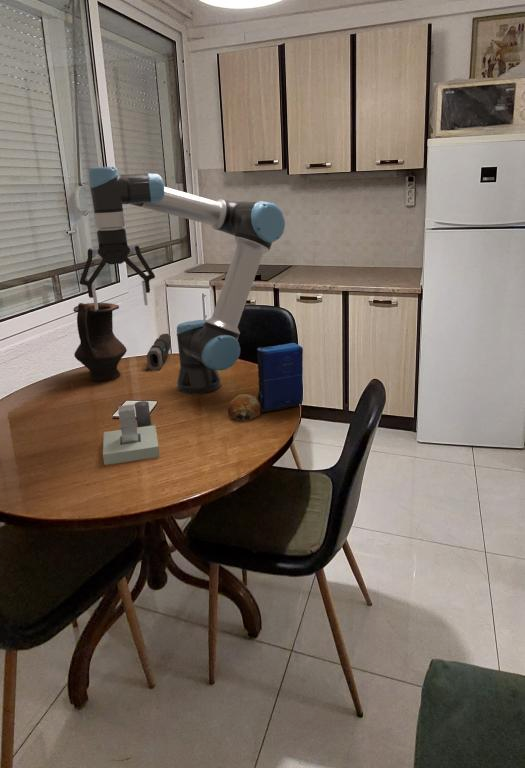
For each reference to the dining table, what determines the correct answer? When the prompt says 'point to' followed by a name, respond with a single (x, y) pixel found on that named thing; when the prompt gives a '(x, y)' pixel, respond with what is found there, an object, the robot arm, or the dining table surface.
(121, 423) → the square peg
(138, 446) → the socket board
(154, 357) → the tube
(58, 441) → the dining table surface
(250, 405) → the bread roll
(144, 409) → the round peg
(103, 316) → the jug
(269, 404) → the book
